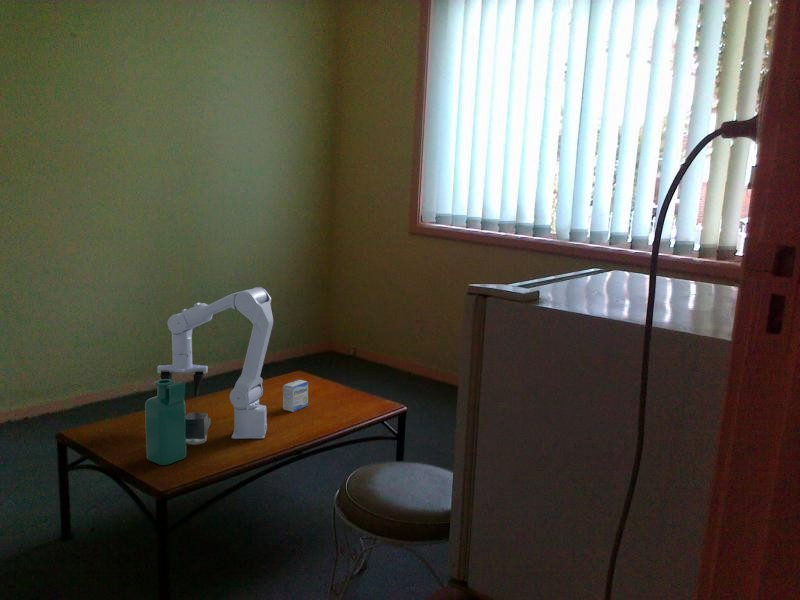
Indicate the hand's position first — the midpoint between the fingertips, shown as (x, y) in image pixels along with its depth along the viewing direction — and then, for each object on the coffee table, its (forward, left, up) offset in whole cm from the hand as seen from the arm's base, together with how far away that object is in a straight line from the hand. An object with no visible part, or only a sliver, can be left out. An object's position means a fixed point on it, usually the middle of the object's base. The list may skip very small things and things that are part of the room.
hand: (183, 395), depth 216 cm
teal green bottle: (-1, +26, -10) cm, 28 cm away
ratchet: (-6, +8, -9) cm, 14 cm away
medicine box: (-33, -16, -10) cm, 38 cm away
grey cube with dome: (-6, +13, -8) cm, 16 cm away
